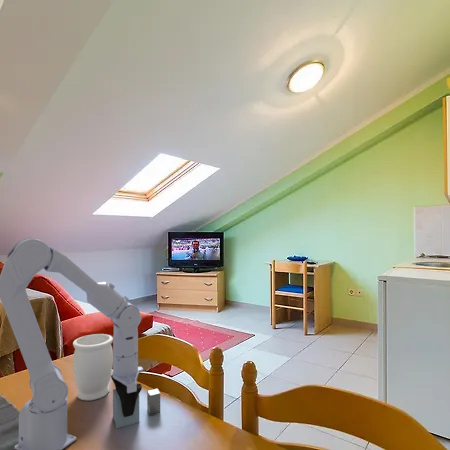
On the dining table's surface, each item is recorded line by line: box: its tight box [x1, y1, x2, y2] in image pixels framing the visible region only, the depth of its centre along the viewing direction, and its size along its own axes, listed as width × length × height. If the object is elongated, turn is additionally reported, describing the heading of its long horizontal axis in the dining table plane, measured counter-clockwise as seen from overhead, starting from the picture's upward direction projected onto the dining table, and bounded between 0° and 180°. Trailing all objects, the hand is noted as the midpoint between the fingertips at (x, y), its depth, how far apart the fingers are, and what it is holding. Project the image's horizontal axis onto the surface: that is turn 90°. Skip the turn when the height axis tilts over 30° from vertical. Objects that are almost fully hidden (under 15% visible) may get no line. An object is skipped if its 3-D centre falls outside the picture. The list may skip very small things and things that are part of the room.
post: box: [146, 388, 161, 417], centre depth 83 cm, size 3×3×5 cm
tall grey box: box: [112, 388, 140, 429], centre depth 80 cm, size 5×5×7 cm
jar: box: [72, 333, 113, 401], centre depth 92 cm, size 11×10×15 cm
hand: (125, 409), depth 80 cm, fingers closed on tall grey box, 5 cm apart
